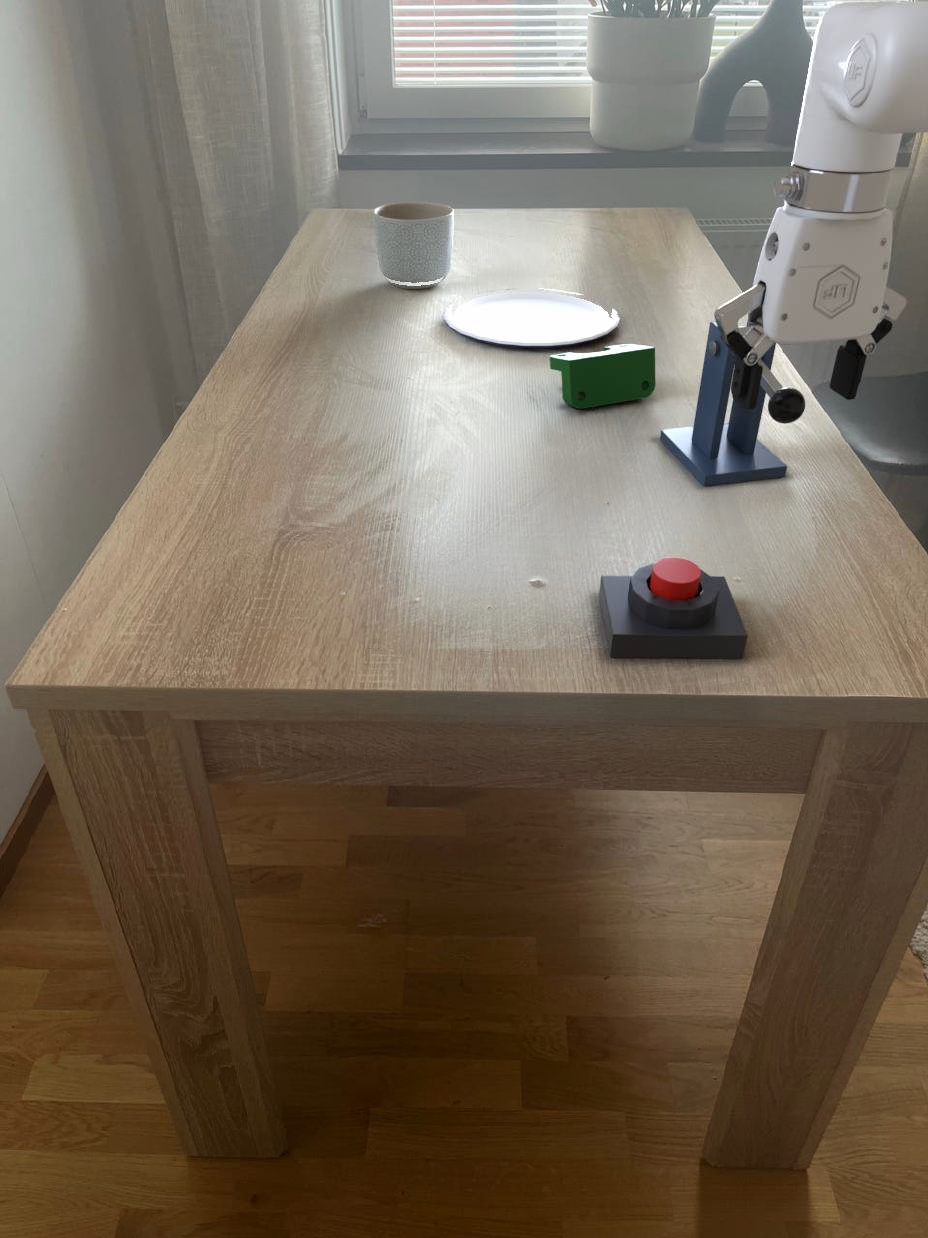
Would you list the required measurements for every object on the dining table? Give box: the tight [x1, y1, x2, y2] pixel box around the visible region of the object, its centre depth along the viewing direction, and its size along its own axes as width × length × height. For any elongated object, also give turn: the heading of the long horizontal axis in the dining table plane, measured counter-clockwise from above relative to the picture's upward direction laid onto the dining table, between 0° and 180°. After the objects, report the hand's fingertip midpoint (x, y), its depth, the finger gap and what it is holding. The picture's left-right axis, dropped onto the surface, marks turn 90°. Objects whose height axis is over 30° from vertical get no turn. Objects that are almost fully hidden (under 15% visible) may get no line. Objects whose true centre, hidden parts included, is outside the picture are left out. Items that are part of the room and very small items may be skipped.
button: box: [650, 557, 701, 601], centre depth 70 cm, size 4×4×2 cm
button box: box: [598, 562, 748, 660], centre depth 71 cm, size 10×8×4 cm
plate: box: [443, 287, 621, 349], centre depth 131 cm, size 25×25×1 cm
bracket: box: [659, 319, 788, 487], centre depth 93 cm, size 11×9×14 cm
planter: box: [372, 201, 455, 290], centre depth 144 cm, size 12×12×11 cm
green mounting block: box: [549, 343, 656, 410], centre depth 108 cm, size 12×6×9 cm, turn 106°
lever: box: [735, 325, 806, 425], centre depth 86 cm, size 13×3×3 cm, turn 13°
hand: (792, 399), depth 82 cm, fingers open, 9 cm apart
